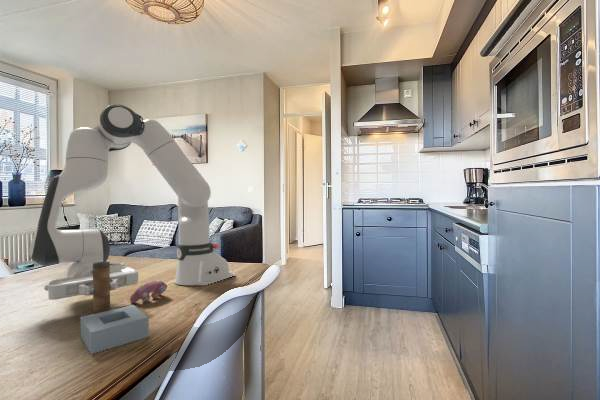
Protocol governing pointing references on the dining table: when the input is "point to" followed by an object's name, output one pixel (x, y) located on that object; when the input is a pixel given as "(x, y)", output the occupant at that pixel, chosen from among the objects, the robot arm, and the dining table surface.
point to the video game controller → (148, 291)
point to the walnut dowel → (101, 287)
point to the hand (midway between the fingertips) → (102, 289)
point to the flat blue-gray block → (113, 328)
